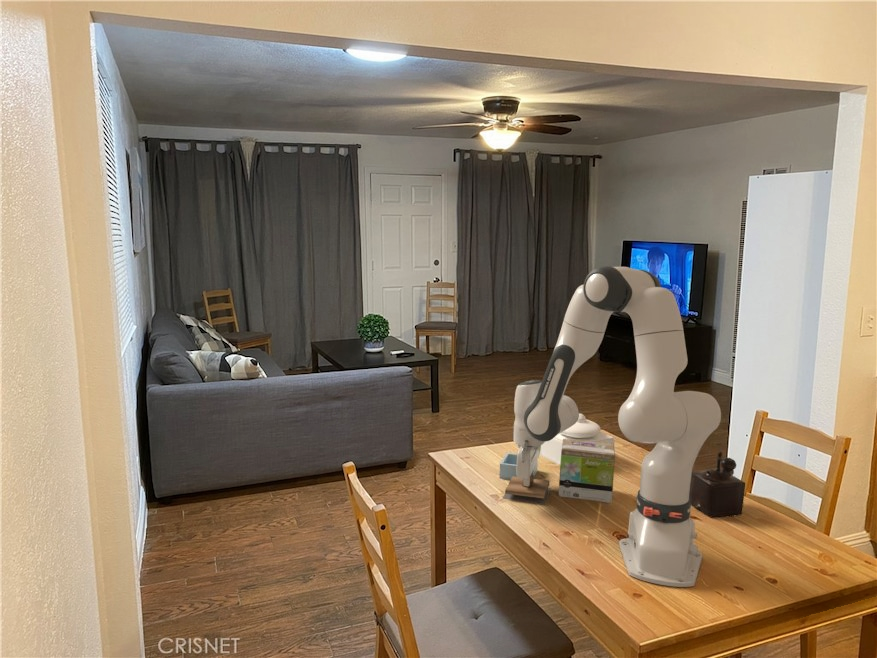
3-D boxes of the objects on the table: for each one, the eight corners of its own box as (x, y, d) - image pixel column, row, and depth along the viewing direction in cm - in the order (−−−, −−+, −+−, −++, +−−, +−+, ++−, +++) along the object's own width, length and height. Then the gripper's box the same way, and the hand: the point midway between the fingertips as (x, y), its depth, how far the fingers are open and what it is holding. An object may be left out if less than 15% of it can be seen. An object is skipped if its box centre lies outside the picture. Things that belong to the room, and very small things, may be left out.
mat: (544, 505, 175) (544, 504, 175) (502, 499, 179) (502, 498, 179) (550, 488, 186) (550, 487, 186) (510, 483, 190) (510, 482, 190)
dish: (531, 483, 190) (532, 467, 189) (499, 479, 193) (499, 463, 192) (537, 471, 199) (537, 456, 199) (506, 467, 202) (506, 452, 202)
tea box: (558, 498, 180) (560, 448, 178) (559, 484, 190) (562, 437, 187) (612, 504, 177) (615, 453, 174) (611, 489, 186) (614, 442, 184)
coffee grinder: (684, 502, 178) (689, 441, 175) (717, 498, 181) (723, 439, 178) (720, 527, 163) (726, 461, 161) (757, 523, 166) (763, 458, 163)
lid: (544, 498, 174) (544, 484, 174) (505, 493, 178) (505, 480, 177) (549, 483, 185) (549, 470, 184) (512, 479, 188) (512, 466, 188)
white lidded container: (571, 472, 199) (574, 424, 197) (537, 454, 215) (539, 409, 213) (613, 463, 208) (616, 417, 205) (577, 446, 223) (579, 403, 221)
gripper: (534, 448, 168) (533, 497, 170) (545, 426, 188) (543, 471, 190) (511, 446, 170) (510, 494, 172) (524, 425, 190) (523, 469, 191)
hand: (528, 482), depth 181 cm, fingers closed on lid, 3 cm apart
